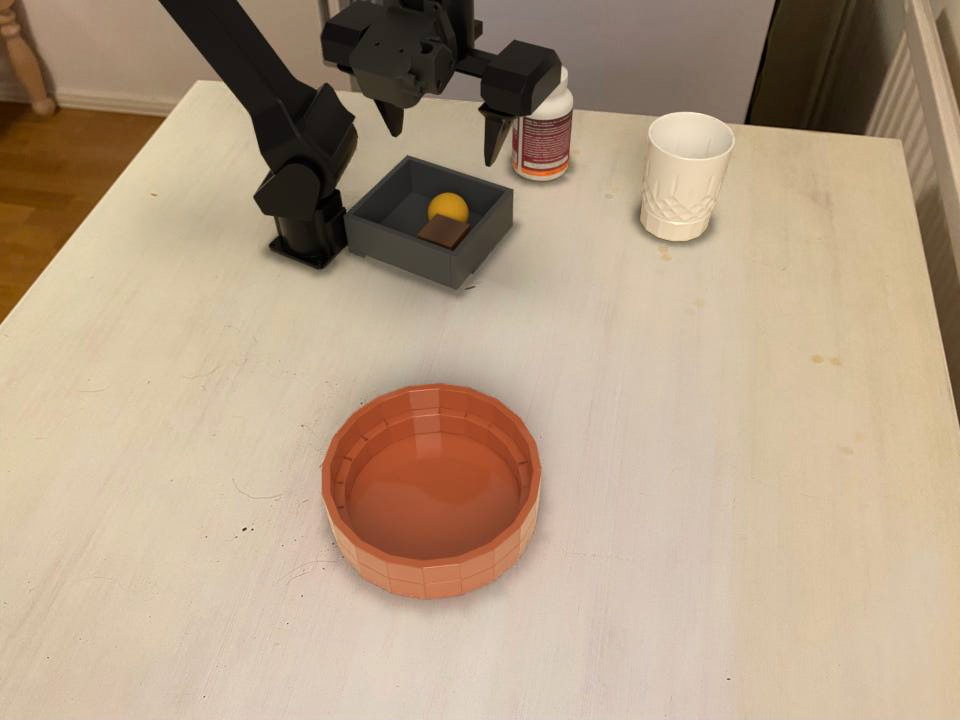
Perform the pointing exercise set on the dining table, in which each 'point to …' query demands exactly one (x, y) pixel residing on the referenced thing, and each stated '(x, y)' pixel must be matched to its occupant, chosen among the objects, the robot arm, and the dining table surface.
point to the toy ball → (449, 207)
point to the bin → (404, 213)
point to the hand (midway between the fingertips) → (442, 149)
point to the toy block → (444, 232)
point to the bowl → (432, 490)
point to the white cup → (683, 173)
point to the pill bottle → (544, 136)
